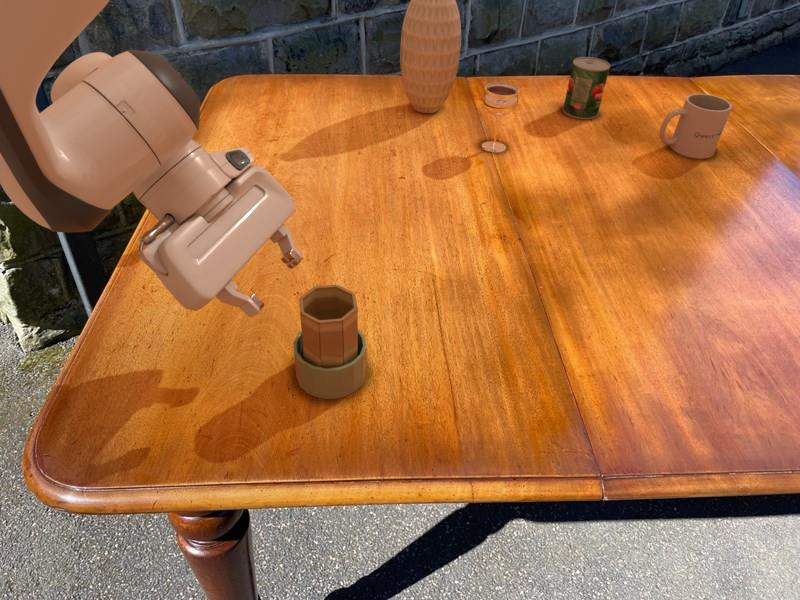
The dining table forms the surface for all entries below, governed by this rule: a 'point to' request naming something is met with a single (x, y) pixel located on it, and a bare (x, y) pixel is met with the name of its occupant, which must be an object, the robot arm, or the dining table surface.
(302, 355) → the gray bowl
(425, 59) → the vase
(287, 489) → the dining table surface
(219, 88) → the dining table surface
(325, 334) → the octagonal wooden container
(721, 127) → the mug
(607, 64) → the canned tomato
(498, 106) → the wineglass
